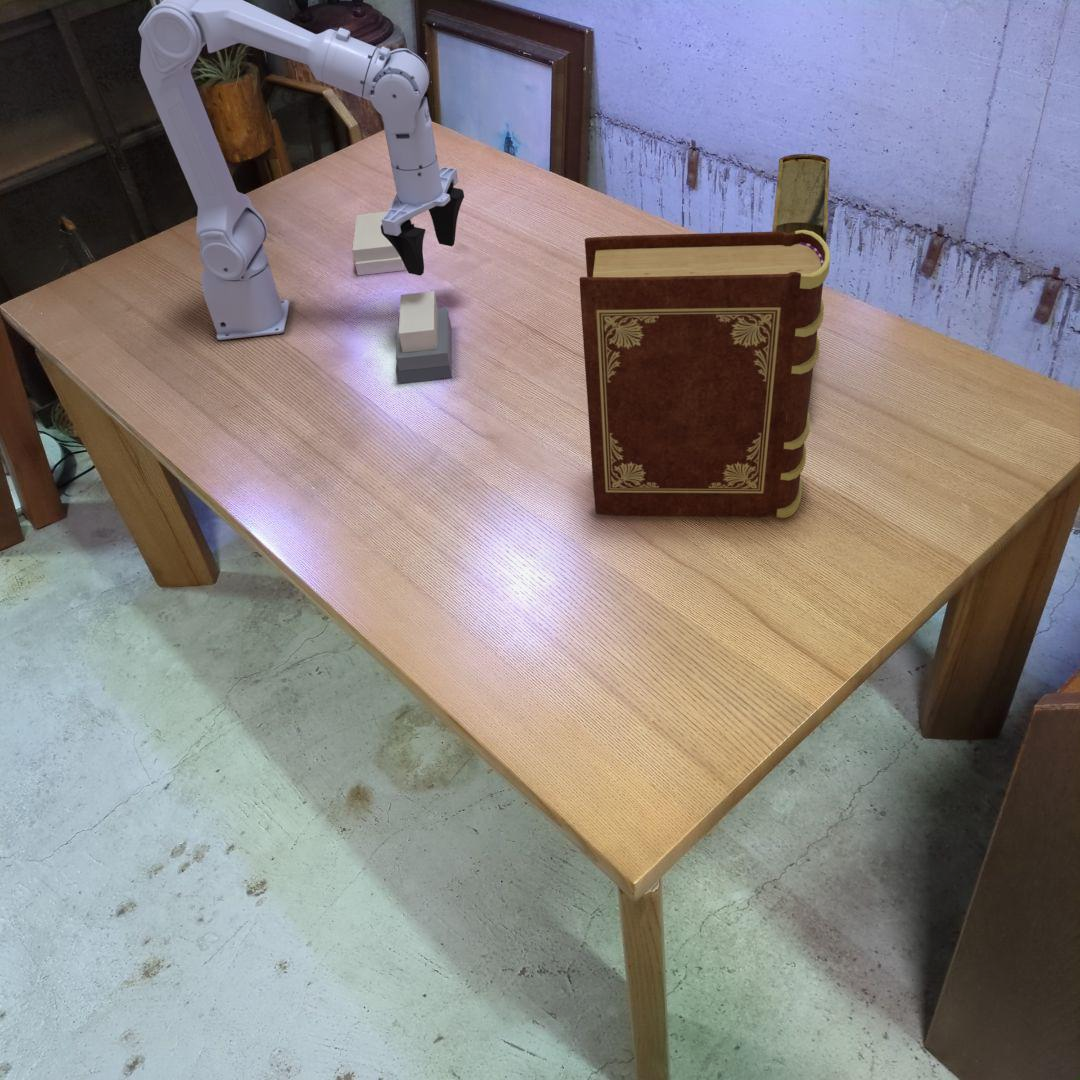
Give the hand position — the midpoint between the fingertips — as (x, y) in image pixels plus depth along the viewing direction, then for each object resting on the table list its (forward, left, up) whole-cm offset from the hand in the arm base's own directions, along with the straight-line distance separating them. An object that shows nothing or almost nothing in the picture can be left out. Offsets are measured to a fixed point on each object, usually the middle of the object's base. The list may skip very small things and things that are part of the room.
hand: (431, 258), depth 139 cm
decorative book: (+29, -40, -10) cm, 50 cm away
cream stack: (-9, +20, -10) cm, 25 cm away
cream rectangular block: (-2, -8, -6) cm, 10 cm away
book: (+43, -21, -10) cm, 48 cm away
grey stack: (-2, -8, -10) cm, 13 cm away
